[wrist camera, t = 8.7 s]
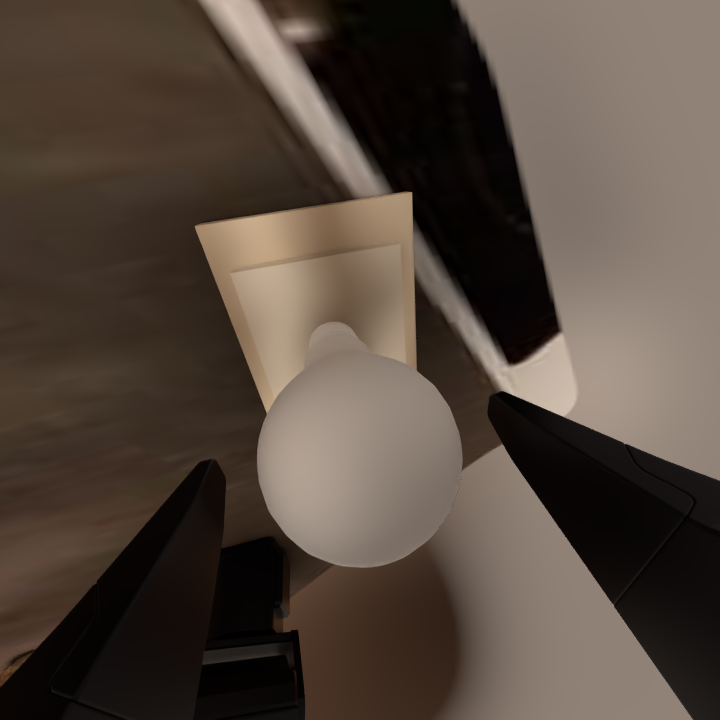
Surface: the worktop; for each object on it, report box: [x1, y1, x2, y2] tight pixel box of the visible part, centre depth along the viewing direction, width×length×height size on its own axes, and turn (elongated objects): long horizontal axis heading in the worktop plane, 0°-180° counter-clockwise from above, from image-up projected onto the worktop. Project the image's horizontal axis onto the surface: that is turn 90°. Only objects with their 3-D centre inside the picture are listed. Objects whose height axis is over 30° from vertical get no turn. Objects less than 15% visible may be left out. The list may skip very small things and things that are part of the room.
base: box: [195, 192, 417, 414], centre depth 17 cm, size 10×12×2 cm
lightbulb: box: [257, 322, 463, 567], centre depth 11 cm, size 6×6×11 cm
